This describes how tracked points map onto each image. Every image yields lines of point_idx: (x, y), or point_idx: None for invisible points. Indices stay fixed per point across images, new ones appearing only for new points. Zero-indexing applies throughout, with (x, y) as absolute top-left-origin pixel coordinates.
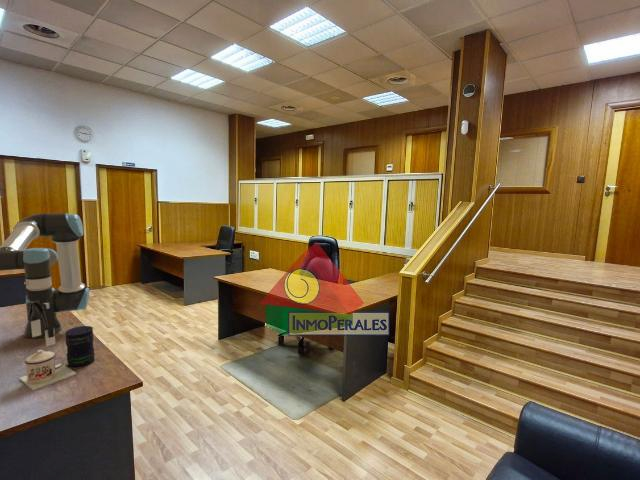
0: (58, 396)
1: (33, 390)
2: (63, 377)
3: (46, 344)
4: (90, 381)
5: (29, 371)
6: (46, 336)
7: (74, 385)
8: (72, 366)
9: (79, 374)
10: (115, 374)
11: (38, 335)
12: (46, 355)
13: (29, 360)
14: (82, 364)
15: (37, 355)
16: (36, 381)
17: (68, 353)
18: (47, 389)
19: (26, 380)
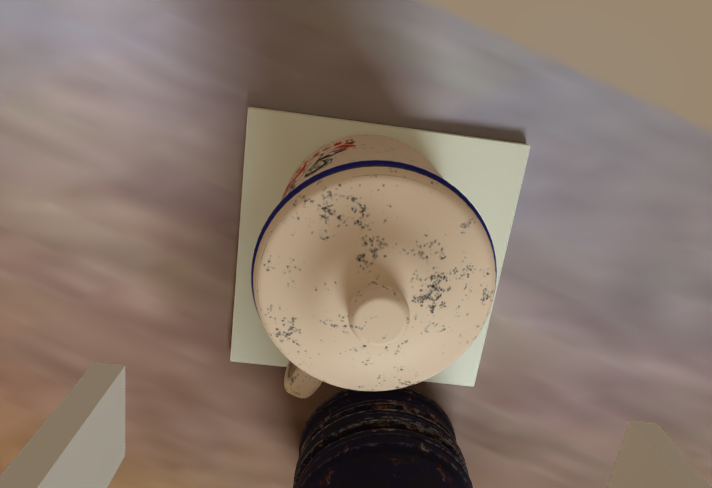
0: (8, 149)
1: (249, 107)
2: (240, 291)
3: (92, 377)
4: (48, 347)
5: (348, 154)
6: (4, 481)
7: (80, 274)
8: (352, 395)
9: (214, 363)
10: (10, 459)
11: (611, 478)
12: (301, 320)
13: (358, 189)
14: (306, 436)
15: (342, 268)
16: (304, 161)
17: (397, 459)
18: (181, 162)
19: (435, 149)
